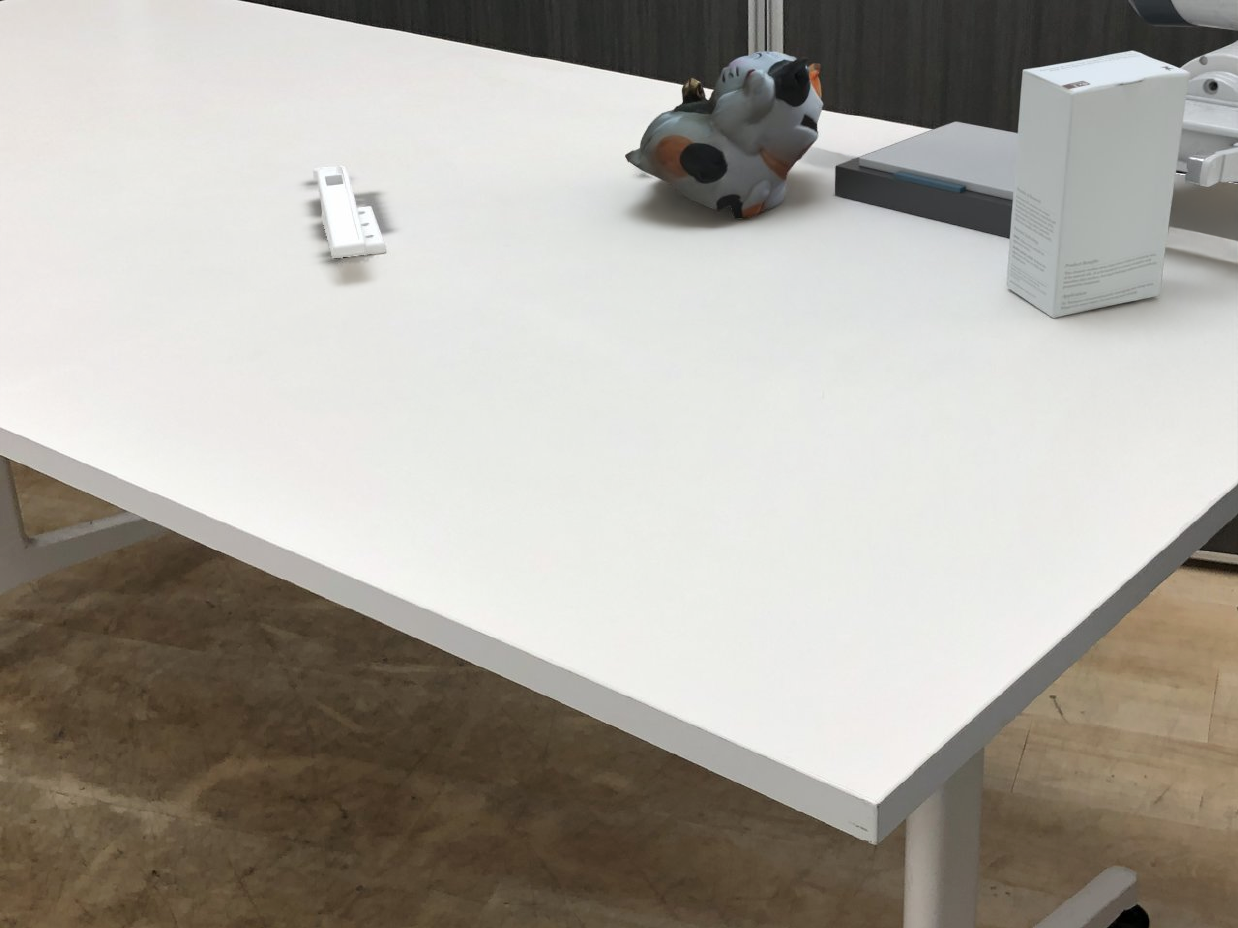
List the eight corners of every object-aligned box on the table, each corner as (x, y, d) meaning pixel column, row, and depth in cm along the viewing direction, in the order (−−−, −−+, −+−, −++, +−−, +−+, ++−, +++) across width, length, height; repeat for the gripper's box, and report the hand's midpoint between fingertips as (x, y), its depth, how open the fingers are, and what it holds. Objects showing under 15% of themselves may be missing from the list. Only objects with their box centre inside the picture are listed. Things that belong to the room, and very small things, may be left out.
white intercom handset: (366, 195, 120) (357, 131, 117) (395, 277, 103) (386, 203, 100) (317, 202, 119) (307, 136, 116) (338, 285, 102) (327, 211, 99)
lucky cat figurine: (669, 165, 123) (746, 13, 118) (787, 236, 120) (871, 83, 115) (597, 164, 109) (680, -8, 104) (727, 244, 106) (819, 70, 101)
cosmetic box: (1108, 270, 97) (1135, 47, 90) (1164, 301, 92) (1198, 67, 85) (998, 290, 95) (1018, 63, 88) (1050, 322, 90) (1075, 84, 83)
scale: (1127, 189, 112) (1132, 150, 111) (1021, 241, 103) (1025, 199, 102) (944, 151, 123) (947, 115, 122) (834, 195, 114) (835, 157, 113)
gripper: (1098, 48, 106) (992, 86, 98) (1386, 89, 93) (1291, 137, 85) (1089, 133, 109) (985, 176, 101) (1366, 184, 96) (1272, 239, 88)
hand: (1127, 159), depth 93 cm, fingers open, 8 cm apart
